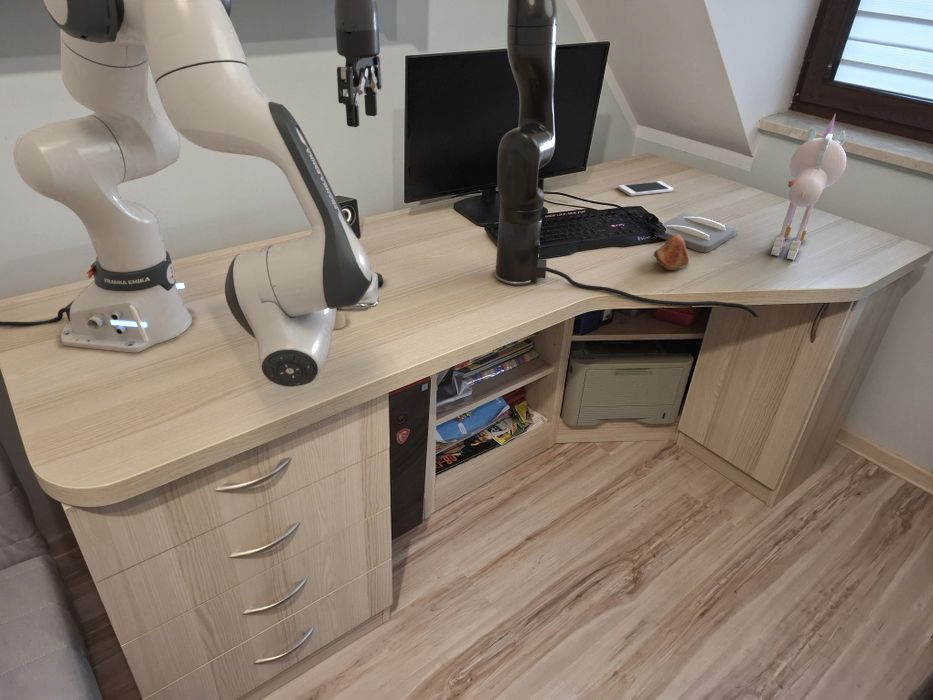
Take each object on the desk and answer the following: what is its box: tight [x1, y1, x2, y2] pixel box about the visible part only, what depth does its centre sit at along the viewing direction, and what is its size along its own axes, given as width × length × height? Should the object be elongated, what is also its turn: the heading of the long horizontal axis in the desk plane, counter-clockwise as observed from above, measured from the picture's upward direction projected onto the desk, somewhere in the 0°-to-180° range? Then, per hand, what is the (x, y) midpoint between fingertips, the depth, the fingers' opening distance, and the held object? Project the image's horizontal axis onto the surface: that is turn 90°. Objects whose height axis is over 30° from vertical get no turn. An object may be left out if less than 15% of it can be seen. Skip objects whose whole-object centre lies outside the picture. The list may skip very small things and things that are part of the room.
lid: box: [374, 271, 384, 289], centre depth 139 cm, size 5×5×2 cm
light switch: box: [654, 212, 737, 253], centre depth 167 cm, size 18×3×15 cm
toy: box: [770, 112, 847, 261], centre depth 159 cm, size 12×36×30 cm, turn 148°
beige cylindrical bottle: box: [333, 311, 347, 330], centre depth 121 cm, size 4×4×16 cm
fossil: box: [653, 234, 690, 271], centre depth 150 cm, size 13×8×10 cm
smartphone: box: [617, 180, 674, 197], centre depth 196 cm, size 7×16×1 cm, turn 111°
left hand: (318, 266), depth 106 cm, fingers open, 8 cm apart
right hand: (362, 120), depth 120 cm, fingers open, 8 cm apart
